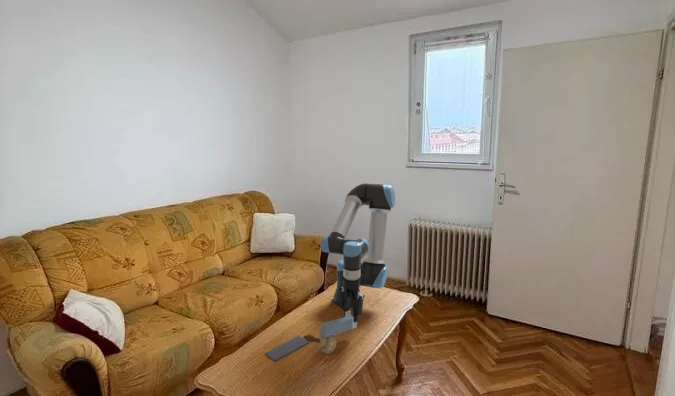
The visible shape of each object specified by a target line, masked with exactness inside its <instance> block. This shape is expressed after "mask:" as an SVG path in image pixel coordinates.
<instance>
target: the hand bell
mask: <svg viewBox="0 0 675 396" xmlns="http://www.w3.org/2000/svg"><path fill="white" fill-rule="evenodd" d="M303 339H305V340H306V341H308V342H309V343H316V344H317V346H318V347H319V348H320V351H321V352H322V353H323V354H325V355H330V354H332V353H333V352H334V351H335V349H336V347H337V338H336V336H335V335H332V336H330V337H327V338H324V337H322V336H321V335H320V336H319V337H315V336H314V335H311V334H305V335H304V336H303Z"/></svg>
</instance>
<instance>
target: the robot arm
mask: <svg viewBox="0 0 675 396" xmlns="http://www.w3.org/2000/svg"><path fill="white" fill-rule="evenodd" d="M395 194H396V193H395V190H394V188H393V186H392V185H389V184H379V183H378V184H377V183H365V182H364V183H360V184H359V185H357V186H355V187H354V188H352V189H351V190H350V191H349V192H348V193H347V194H346V196H345V198H344V205H343V207H342V209H341V211H340V212H339V214H338V217H337V219H336V222H335V224H334V225H333V228H332V230H331V232H330V234H329V236H328V235H327V236H326V235H325V236H322V238H321V240H320V244H319V245H320V249H321V251H322V252H323V253H328V254H335V255H343V258H342V259H340V260H339V261H338V262H337V266H336V288H335V292H334V294H333V302H334V303H335V305H337V306H340V308H341V309H342V310H343V311H344V312H343V313H344V314H343V315H344V316H343V317H345V316H349V315H351V329H350V330H354V329H356V328H357V326H358V321H359V320H358V319H359V316H361V315H362V314H363V306H364V299H365V297H366V296H365V294H362V293H361V291H360V287H365V288H366V287H367V288H372V289H382V288H383V287H384V286H385V285H386V281H387V278H388V274H389V268H388V266H386V262H385V261H384V259H383V258H384V253H385V251H384V250H385V240H386V232H387V231H386V230H387V222H388V214H389V213H390V212H391V211H392V209H394V207H395V204H396V195H395ZM362 206H368V210H369V212H370V221H369V222H370V223H369V231H368V238H367V239H368V240H367V239H366V238H360V237H359V238H357V239H349V238H347V235H348V233H349V231H350V230H351V229H350V228H351V227H352V224H353V222H354V219H355V218H356V216H357V213H358V212H359V210H360V209H361V208H362ZM365 256H366V257H365ZM364 257H365V258H364ZM363 258H364V259H363ZM362 259H363V260H362ZM351 309H352V311H351ZM351 312H352V314H353V315H352V314H351Z"/></svg>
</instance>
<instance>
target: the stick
mask: <svg viewBox="0 0 675 396" xmlns="http://www.w3.org/2000/svg"><path fill="white" fill-rule="evenodd" d="M351 315H353V313H352V314H351ZM351 315H349V316H345V317H344V316H342V317H339V318H336V319H332V320H329V321H326V322H322V323H321V324H320V331H319V332H320V333H319V335H320V336H322V337H324V338H327V337H330V336H332V335H334V336H335V335H338V334H341V333H344V332H347V331H350V330H352V329H351Z"/></svg>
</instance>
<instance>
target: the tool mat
mask: <svg viewBox="0 0 675 396" xmlns="http://www.w3.org/2000/svg"><path fill="white" fill-rule="evenodd" d="M309 344H310V342H308V341H306V340H305V339H304V337H301V335H297V336H295V337H293V338H291V339H289V340H287V341H285V342H284V343H281V344H280V345H278V346H276V347H275V346H274V348H272V349H270V350H268V351H266V352H265V353H264V354H265V355H266V356H267V357H268V356H269V357H268V358H270V359H271V360H272V361H273V362H277V361H279V360H281V359H283V358H285V357H286V356H289V355H291V354H292V353H294V352H296V351H297V350H299V349H301V348H303V347H305V346H307V345H309Z"/></svg>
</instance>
